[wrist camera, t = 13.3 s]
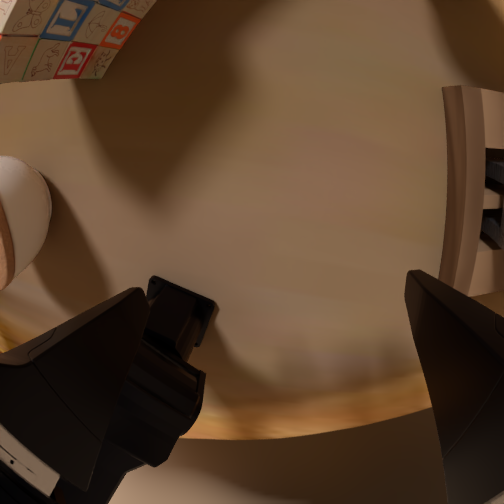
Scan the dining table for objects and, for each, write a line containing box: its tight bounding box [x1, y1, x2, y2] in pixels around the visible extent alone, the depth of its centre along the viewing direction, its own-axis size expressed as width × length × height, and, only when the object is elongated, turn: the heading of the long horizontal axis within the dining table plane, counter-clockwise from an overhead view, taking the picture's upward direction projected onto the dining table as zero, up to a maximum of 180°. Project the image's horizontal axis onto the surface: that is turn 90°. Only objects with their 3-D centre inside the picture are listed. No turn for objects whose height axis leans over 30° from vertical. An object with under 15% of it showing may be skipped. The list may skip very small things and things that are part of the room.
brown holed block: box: [438, 85, 504, 297], centre depth 16 cm, size 10×16×3 cm, turn 10°
